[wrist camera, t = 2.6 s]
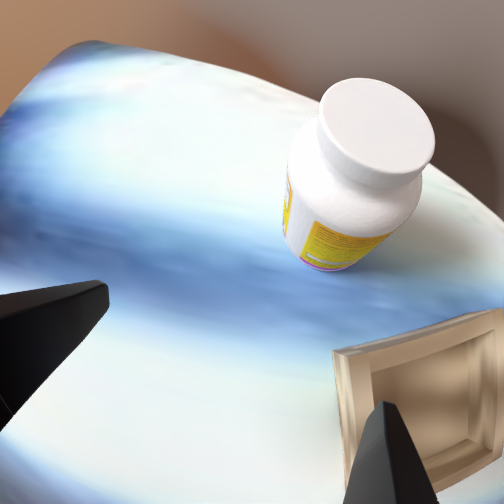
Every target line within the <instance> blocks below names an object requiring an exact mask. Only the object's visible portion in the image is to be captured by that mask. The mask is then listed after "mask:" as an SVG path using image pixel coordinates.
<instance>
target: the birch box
mask: <svg viewBox="0 0 504 504" xmlns="http://www.w3.org/2000/svg"><path fill="white" fill-rule="evenodd" d="M332 356H333V364H334V371H335V379H336V387H337V395H338V404H339V413H340V423H341V433H342V445H343V457H344V471H345V488H346V489H347V485H348V481H349V477H350V472H351V468H352V465H353V462H354V458H355V455H356V452H357V449H358V446H359V443H360V439H361V436H362V433H363V429H364V426H365V422H366V420H367V418H368V416H369V415H370V414H371V413H372V411H373V410H374V409H375V408H376V407H377V405H378V404H379V403H380V402H381V401H383V400H385V401H388V402H392V403H395V404H396V406H397V408H398V410H399V412H400V414H401V416H402V418H403V420H404V423H405V425H406V427H407V429H408V431H409V433H410V436H411V438H412V440H413V442H414V444H415V447H416V449H417V451H418V454H419V456H420V458H421V460H422V463H423V465H424V467H425V470H426V472H427V474H428V477H429V479H430V482H431V484H432V487H433V489H434V492H435V494H436V493H438V492H440V491H442V490H444V489H446V488H448V487H450V486H452V485H454V484H456V483H458V482H460V481H461V480H463V479H465V478H467V477H469V476H470V475H472V474H474V473H476V472H477V471H479V470H481V469H482V468H484V467H485V466H487V465H489V464H490V463H492V462H493V461H495V460H496V459H498V458H499V457H501V456H502V450H503V443H504V314H503V308H498V309H491V310H484V311H477V312H469V313H466V314H463V315H460V316H457V317H454V318H452V319H449V320H446V321H443V322H439V323H436V324H433V325H430V326H427V327H424V328H420V329H417V330H413V331H410V332H407V333H403V334H399V335H396V336H392V337H388V338H384V339H381V340H377V341H373V342H369V343H364V344H360V345H356V346H351V347H347V348H342V349H338V350H333V351H332Z"/></svg>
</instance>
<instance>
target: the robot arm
mask: <svg viewBox="0 0 504 504" xmlns="http://www.w3.org/2000/svg"><path fill="white" fill-rule="evenodd" d="M109 305H110V303H109V290H108V286H107V284H105V283H104V282H102V281H100V280H91V281H85V282H78V283H72V284H66V285H60V286H53V287H47V288H41V289H35V290H28V291H22V292H16V293H9V294H5V295H4V294H3V295H0V432H1V430H2V429H3V428H4V427H5V426H6V424H7V423H8V422H9V421H10V420H11V419H12V417H13V416H14V415H15V414H16V413H17V411H18V410H19V409H20V408H21V407H22V406H23V405H24V403H25V402H26V401H27V400H28V399H29V398H30V397H31V396H32V395H33V393H34V392H35V391H36V390H37V389H38V388H39V387H40V386H41V385H42V384H43V382H44V381H45V380H46V379H47V378H48V377H49V376H50V375H51V374H52V373H53V372H54V371H55V370H56V368H57V367H58V366H59V365H60V364H61V363H62V362H63V361H64V360H65V359H66V358H67V357H68V356H69V355H70V354H71V353H72V352H73V351H74V350H75V349H76V348H77V347H78V345H79V344H80V343H81V342H82V341H83V340H84V339H85V338H86V336H87V335H88V334H89V333H90V331H91V330H92V329H93V328H94V326H95V325H96V324H97V323H98V321H99V320H100V319H101V318H102V317H103V315H104V314H105V313H106V312H107V310H108V308H109ZM343 504H439V501H437V497H436V494H435V492H434V489H433V487H432V484H431V482H430V479H429V477H428V474H427V472H426V470H425V467H424V465H423V463H422V460H421V458H420V456H419V454H418V451H417V449H416V447H415V444H414V442H413V440H412V438H411V436H410V433H409V431H408V429H407V427H406V425H405V423H404V420H403V418H402V416H401V414H400V412H399V410H398V408H397V406H396V404H395V403H392V402H388V401H385V400H383V401H381V402H380V403H379V404H378V405H377V407H376V408H375V409H374V410H373V411H372V413H371V414H370V415H369V416H368V418H367V420H366V422H365V426H364V429H363V433H362V436H361V439H360V443H359V446H358V449H357V452H356V455H355V458H354V462H353V465H352V468H351V472H350V477H349V481H348V485H347V489H346V494H345V498H344V501H343Z"/></svg>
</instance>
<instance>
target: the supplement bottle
mask: <svg viewBox="0 0 504 504" xmlns="http://www.w3.org/2000/svg"><path fill="white" fill-rule="evenodd" d="M434 147H435V137H434V132H433V129H432V126H431V123H430V121H429V119H428V118H427V116H426V114H425V113H424V111H423V110H422V109H421V108H420V106H419V105H418V104H417V103H416V102H415V101H414V100H413V99H412V98H410V97H409V96H408V95H406V94H405V93H404V92H402V91H401V90H399V89H397V88H395V87H393V86H391V85H389V84H387V83H384V82H381V81H378V80H374V79H367V78H352V79H347V80H343V81H341V82H338V83H336V84H334V85H333V86H331V87H330V88H329V89H328V90H327V91H326V92H325V94H324V96H323V97H322V100H321V102H320V106H319V110H318V114H317V116H315V117H313V118H311V119H310V120H309V121H307V122H306V123H305V124H304V125H303V126H302V127H301V128H300V130H299V131H298V132H297V134H296V135H295V137H294V139H293V141H292V144H291V147H290V151H289V157H288V166H287V179H286V190H285V200H284V210H283V234H284V238H285V241H286V243H287V245H288V247H289V249H290V251H291V252H292V253H293V254H294V256H295V257H296V258H297V259H298V260H300V261H301V262H302V263H304V264H305V265H307V266H309V267H311V268H314V269H316V270H320V271H338V270H342V269H345V268H348V267H350V266H351V265H353V264H355V263H356V262H357V261H359V260H360V259H361V258H363V257H364V256H365V255H366V254H368V253H369V252H370V251H371V250H372V249H374V248H375V247H376V246H377V245H378V244H379V243H381V242H382V241H383V240H384V239H385V238H387V237H388V236H389V235H390V234H391V233H392V232H393V231H395V230H396V229H397V228H398V227H399V226H401V225H402V224H403V223H404V222H405V221H406V220H407V219H408V218H409V216H410V215H411V214H412V213H413V211H414V210H415V208H416V206H417V204H418V201H419V198H420V195H421V190H422V170H423V169H424V168H425V167H426V165H427V164H428V163H429V161H430V159H431V157H432V155H433V152H434Z"/></svg>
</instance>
